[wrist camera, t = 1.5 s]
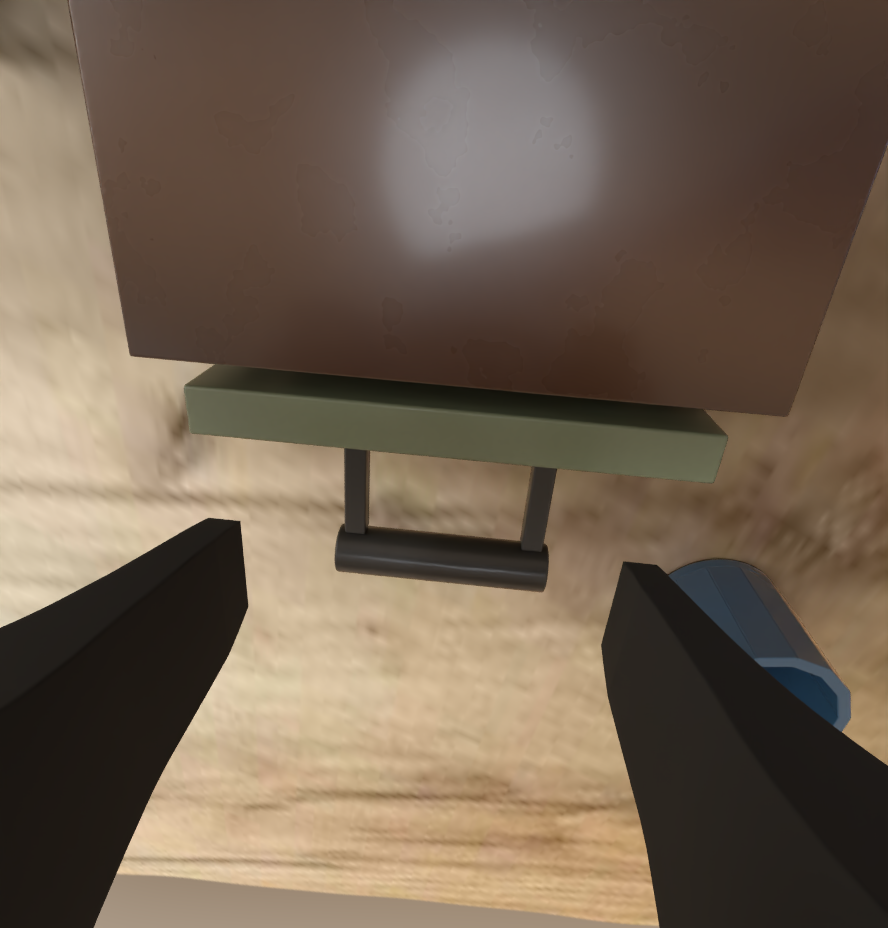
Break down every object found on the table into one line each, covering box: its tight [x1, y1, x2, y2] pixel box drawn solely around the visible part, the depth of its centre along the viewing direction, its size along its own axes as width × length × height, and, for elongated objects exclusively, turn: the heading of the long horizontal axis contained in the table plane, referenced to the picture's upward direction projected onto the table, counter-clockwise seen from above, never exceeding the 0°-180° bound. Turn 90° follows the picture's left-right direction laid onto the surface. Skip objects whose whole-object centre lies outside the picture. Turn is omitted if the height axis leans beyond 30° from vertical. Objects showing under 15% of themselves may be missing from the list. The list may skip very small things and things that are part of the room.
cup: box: [668, 559, 851, 732], centre depth 21 cm, size 5×5×5 cm
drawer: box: [184, 364, 728, 592], centre depth 14 cm, size 17×12×7 cm
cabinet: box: [68, 0, 888, 417], centre depth 12 cm, size 13×13×8 cm
